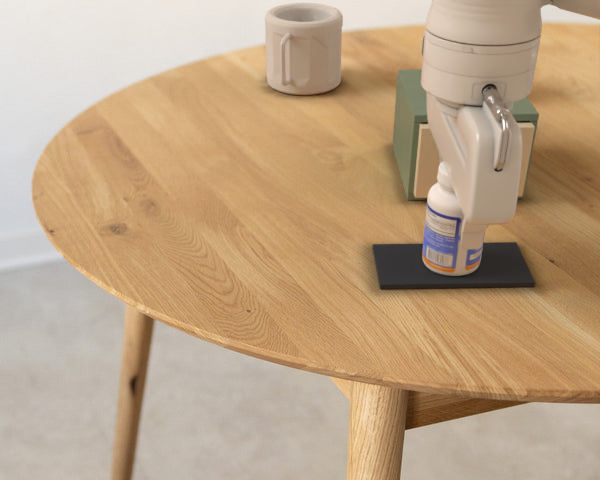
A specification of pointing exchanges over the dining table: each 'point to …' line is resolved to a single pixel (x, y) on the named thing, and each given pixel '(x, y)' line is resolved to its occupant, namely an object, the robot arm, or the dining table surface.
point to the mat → (414, 274)
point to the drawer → (430, 159)
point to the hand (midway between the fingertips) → (459, 217)
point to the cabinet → (415, 111)
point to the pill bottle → (446, 232)
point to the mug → (303, 48)
